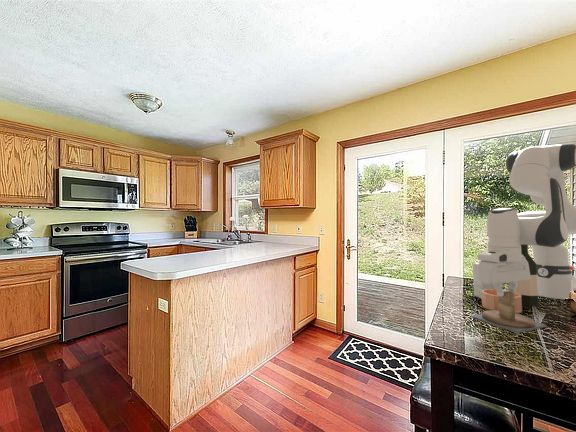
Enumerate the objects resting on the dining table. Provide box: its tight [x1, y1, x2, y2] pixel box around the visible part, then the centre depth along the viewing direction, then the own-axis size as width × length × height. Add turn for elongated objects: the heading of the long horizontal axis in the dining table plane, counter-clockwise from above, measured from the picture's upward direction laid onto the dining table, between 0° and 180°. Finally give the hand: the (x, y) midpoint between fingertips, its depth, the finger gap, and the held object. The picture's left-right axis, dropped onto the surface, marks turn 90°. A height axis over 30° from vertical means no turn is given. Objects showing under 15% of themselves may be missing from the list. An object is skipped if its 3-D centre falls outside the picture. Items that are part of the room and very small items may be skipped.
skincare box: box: [472, 262, 495, 300], centre depth 114 cm, size 8×7×16 cm
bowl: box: [481, 289, 523, 314], centre depth 100 cm, size 12×12×6 cm
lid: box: [481, 288, 536, 328], centre depth 87 cm, size 14×14×10 cm
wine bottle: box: [515, 244, 539, 307], centre depth 106 cm, size 8×8×30 cm
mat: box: [471, 313, 548, 334], centre depth 86 cm, size 14×14×1 cm
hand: (506, 295), depth 87 cm, fingers open, 4 cm apart
